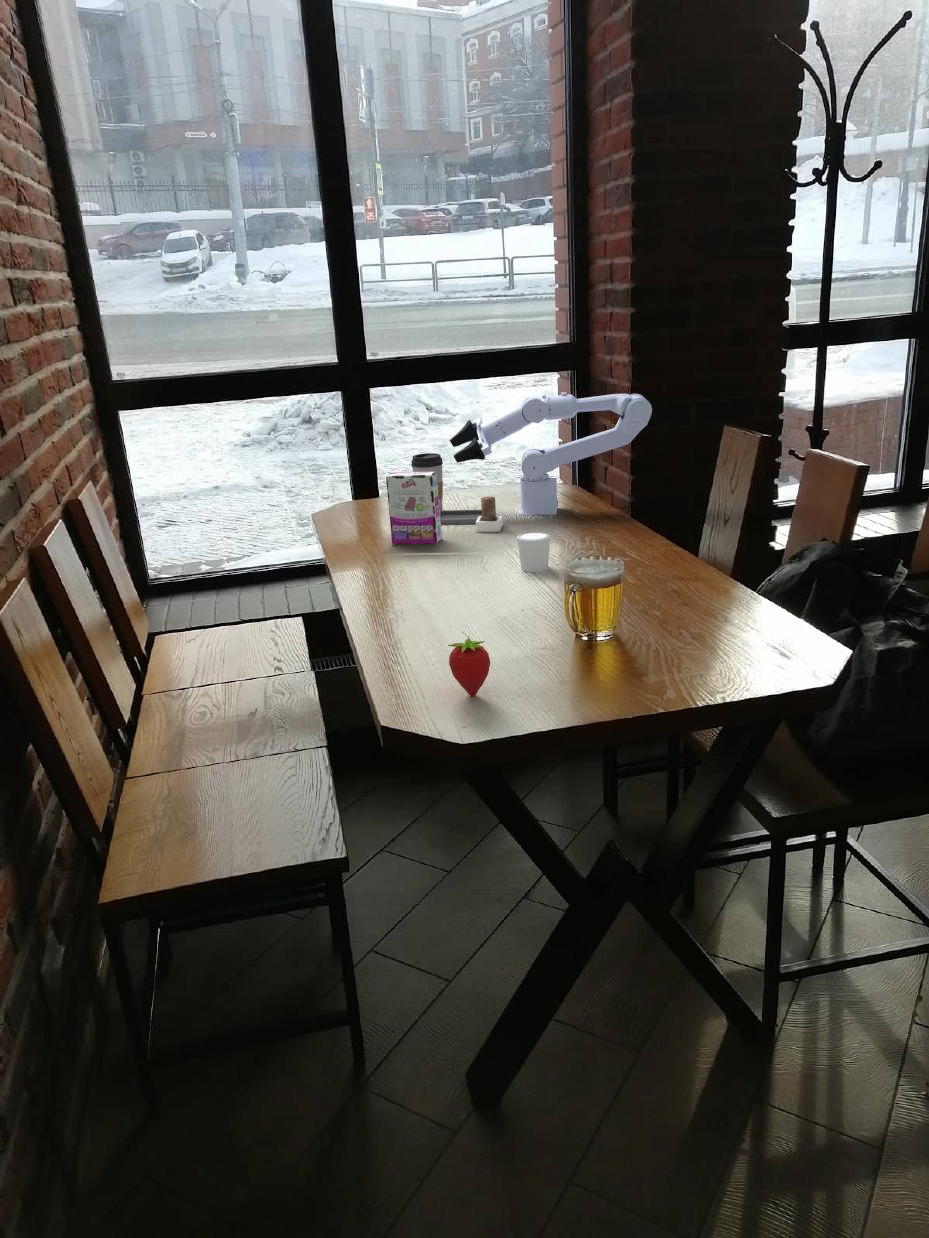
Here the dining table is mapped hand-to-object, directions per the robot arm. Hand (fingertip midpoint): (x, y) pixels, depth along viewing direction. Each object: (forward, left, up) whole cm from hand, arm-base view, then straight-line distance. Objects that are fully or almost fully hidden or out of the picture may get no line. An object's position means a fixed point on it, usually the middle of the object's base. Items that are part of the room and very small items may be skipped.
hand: (453, 451), depth 235 cm
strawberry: (-18, +110, -17) cm, 113 cm away
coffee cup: (+8, -5, -17) cm, 19 cm away
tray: (-2, +5, -17) cm, 18 cm away
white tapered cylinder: (-23, +47, -17) cm, 55 cm away
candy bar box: (+6, +25, -17) cm, 31 cm away
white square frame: (-10, +15, -17) cm, 25 cm away
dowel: (-10, +15, -16) cm, 25 cm away
